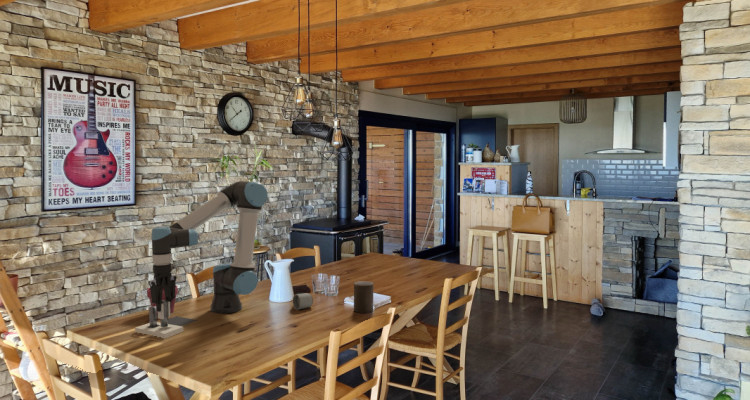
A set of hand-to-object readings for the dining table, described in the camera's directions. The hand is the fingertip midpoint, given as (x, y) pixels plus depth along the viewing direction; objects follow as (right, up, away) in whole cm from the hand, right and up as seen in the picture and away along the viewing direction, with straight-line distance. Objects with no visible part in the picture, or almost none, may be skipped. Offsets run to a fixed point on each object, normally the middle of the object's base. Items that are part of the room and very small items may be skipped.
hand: (164, 317), depth 227 cm
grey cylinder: (+54, -4, +39) cm, 67 cm away
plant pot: (-13, -5, +32) cm, 35 cm away
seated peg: (-6, -7, +4) cm, 10 cm away
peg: (0, -4, 0) cm, 4 cm away
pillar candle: (+85, -4, +34) cm, 92 cm away
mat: (-1, -6, +16) cm, 17 cm away
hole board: (-3, -7, +2) cm, 8 cm away
